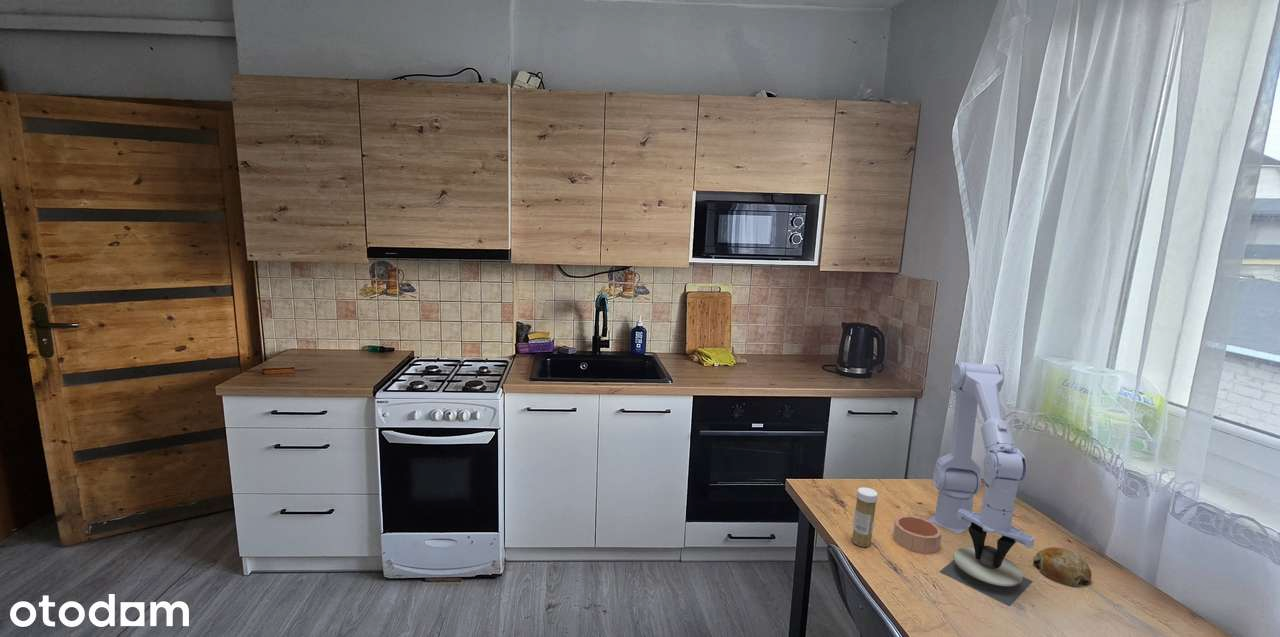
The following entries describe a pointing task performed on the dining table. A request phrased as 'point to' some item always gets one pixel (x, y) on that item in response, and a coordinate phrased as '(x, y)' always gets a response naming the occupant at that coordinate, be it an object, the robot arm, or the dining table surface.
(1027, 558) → the dining table surface
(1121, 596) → the dining table surface
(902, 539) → the bowl
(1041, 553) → the bread roll
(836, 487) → the dining table surface
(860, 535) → the sprinkles bottle
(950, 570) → the mat
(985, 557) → the lid
